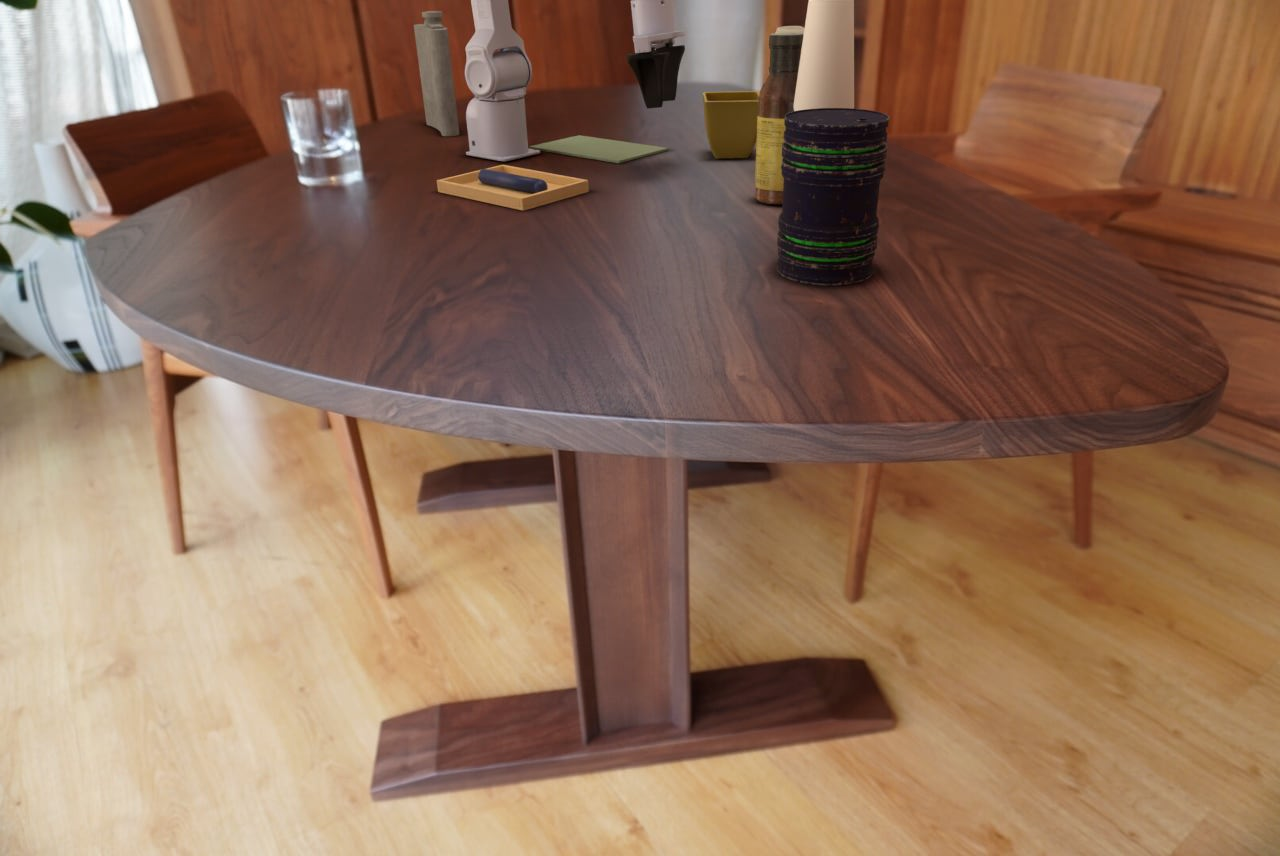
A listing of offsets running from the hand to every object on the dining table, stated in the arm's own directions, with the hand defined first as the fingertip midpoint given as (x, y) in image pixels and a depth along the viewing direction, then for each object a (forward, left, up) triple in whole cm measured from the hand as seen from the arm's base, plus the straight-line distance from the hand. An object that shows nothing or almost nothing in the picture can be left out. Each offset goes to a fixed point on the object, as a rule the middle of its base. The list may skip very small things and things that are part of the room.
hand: (661, 104), depth 128 cm
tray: (-10, -21, -10) cm, 25 cm away
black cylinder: (+41, -25, -10) cm, 49 cm away
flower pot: (+1, +15, -10) cm, 18 cm away
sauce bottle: (+22, -4, -10) cm, 25 cm away
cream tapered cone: (+31, -10, -10) cm, 34 cm away
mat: (-20, +7, -10) cm, 23 cm away
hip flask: (-57, +5, -10) cm, 58 cm away
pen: (-10, -21, -9) cm, 25 cm away
